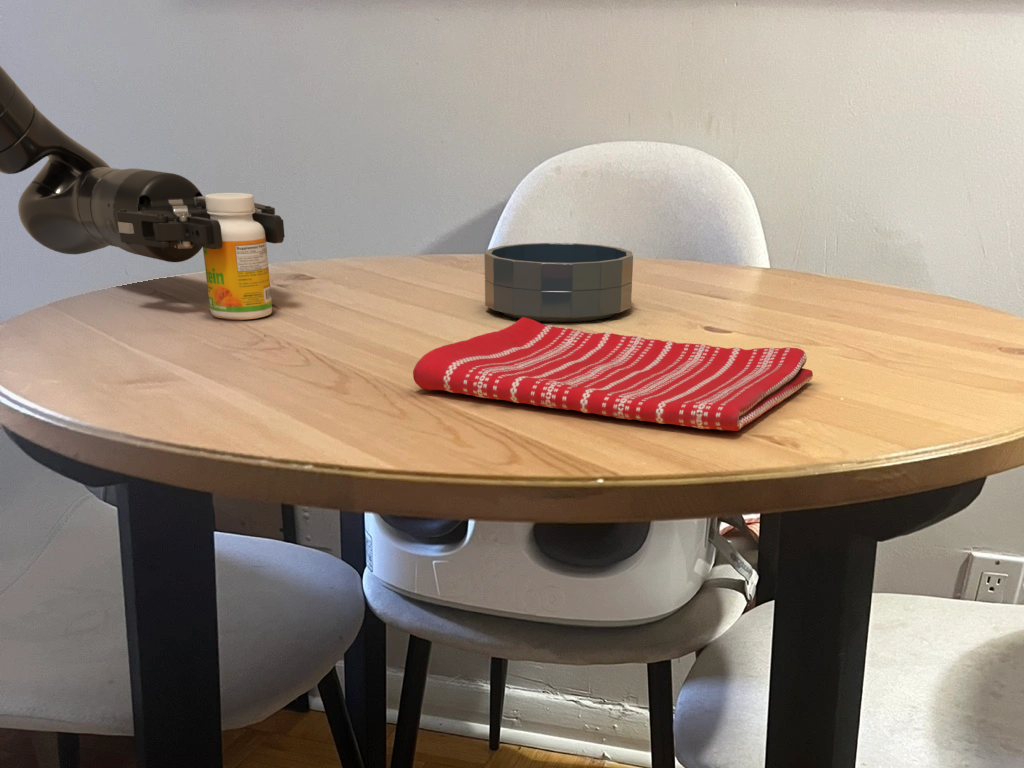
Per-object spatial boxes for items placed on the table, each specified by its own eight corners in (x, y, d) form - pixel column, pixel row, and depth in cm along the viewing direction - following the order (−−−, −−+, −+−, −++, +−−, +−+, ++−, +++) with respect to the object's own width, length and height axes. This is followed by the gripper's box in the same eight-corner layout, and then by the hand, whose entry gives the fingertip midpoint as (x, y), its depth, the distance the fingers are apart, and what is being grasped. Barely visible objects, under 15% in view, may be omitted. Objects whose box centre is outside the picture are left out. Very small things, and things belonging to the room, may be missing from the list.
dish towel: (523, 348, 92) (523, 313, 90) (814, 383, 82) (819, 344, 81) (403, 394, 78) (401, 354, 77) (733, 442, 69) (737, 398, 68)
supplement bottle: (199, 313, 103) (184, 193, 98) (254, 306, 106) (242, 190, 101) (228, 322, 99) (214, 199, 94) (284, 315, 102) (273, 196, 97)
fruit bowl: (597, 330, 98) (599, 267, 96) (460, 316, 103) (459, 256, 100) (650, 305, 108) (653, 248, 106) (524, 294, 113) (524, 239, 111)
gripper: (68, 173, 101) (166, 188, 91) (212, 166, 110) (316, 179, 100) (83, 264, 105) (179, 288, 95) (221, 250, 114) (323, 271, 104)
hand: (249, 232), depth 97 cm, fingers closed on supplement bottle, 5 cm apart
